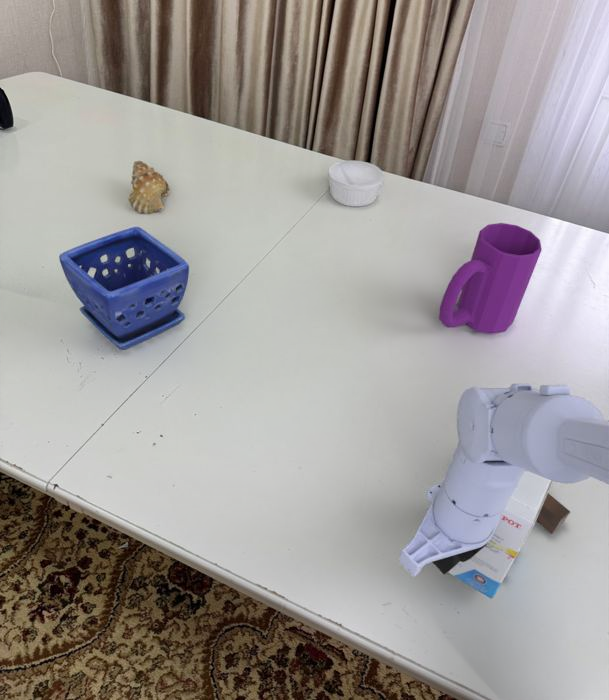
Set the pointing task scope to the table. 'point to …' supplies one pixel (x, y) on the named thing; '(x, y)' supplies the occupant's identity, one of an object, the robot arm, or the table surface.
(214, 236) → the table surface
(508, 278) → the mug
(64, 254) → the flower pot
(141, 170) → the seashell
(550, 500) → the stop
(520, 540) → the ink box
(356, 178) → the ramekin
